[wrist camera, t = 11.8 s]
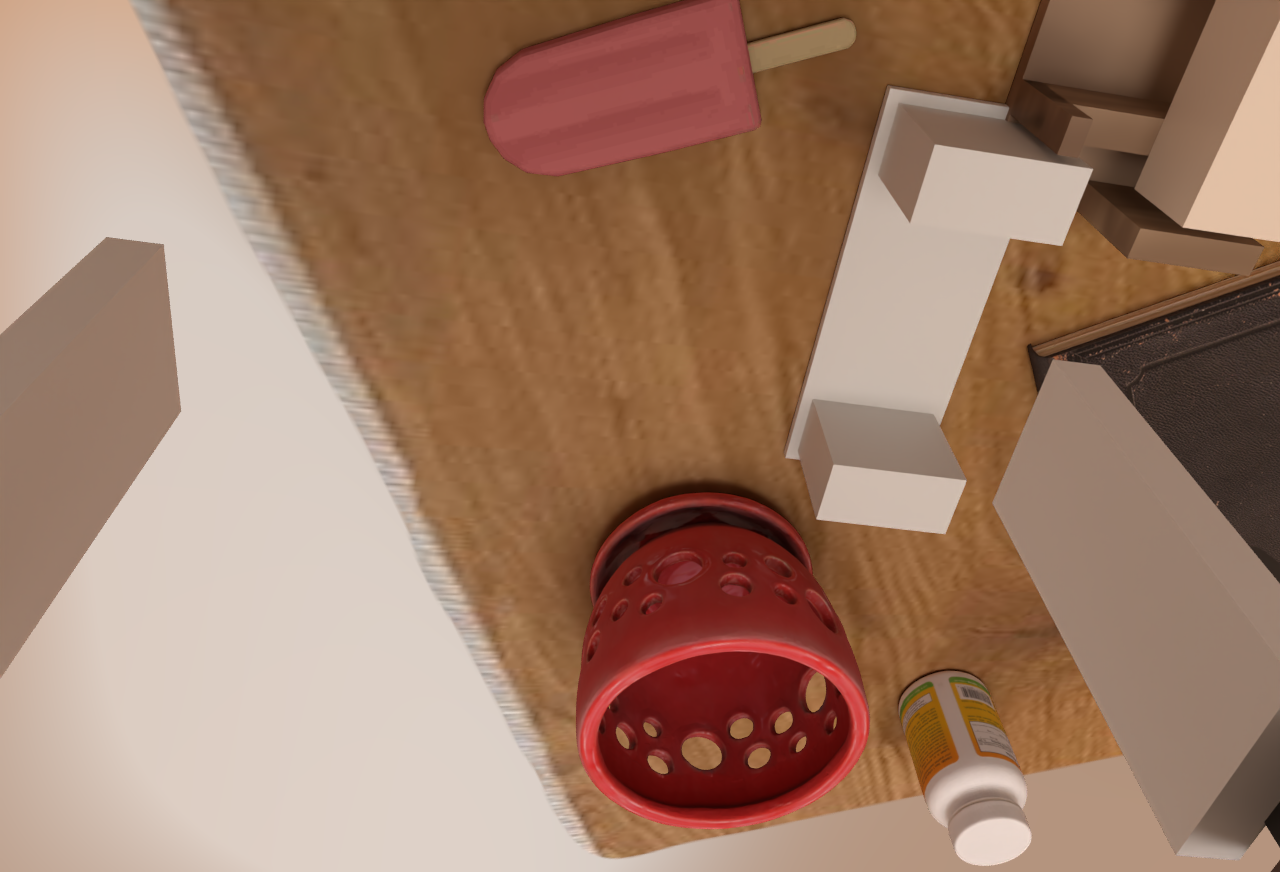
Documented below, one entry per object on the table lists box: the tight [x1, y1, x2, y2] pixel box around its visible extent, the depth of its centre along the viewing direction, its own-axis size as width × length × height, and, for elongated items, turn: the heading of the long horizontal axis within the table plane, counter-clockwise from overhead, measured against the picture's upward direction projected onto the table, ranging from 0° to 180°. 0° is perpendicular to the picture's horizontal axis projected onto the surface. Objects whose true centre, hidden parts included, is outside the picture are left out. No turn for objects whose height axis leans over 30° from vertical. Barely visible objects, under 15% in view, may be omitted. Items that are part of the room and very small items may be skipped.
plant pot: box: [576, 492, 870, 829], centre depth 50 cm, size 13×13×12 cm
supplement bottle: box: [899, 671, 1031, 866], centre depth 57 cm, size 5×5×10 cm
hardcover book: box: [1027, 261, 1280, 563], centre depth 52 cm, size 16×23×2 cm
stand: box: [784, 85, 1093, 534], centre depth 44 cm, size 18×7×6 cm, turn 171°
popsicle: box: [484, 0, 856, 176], centre depth 41 cm, size 5×2×15 cm
